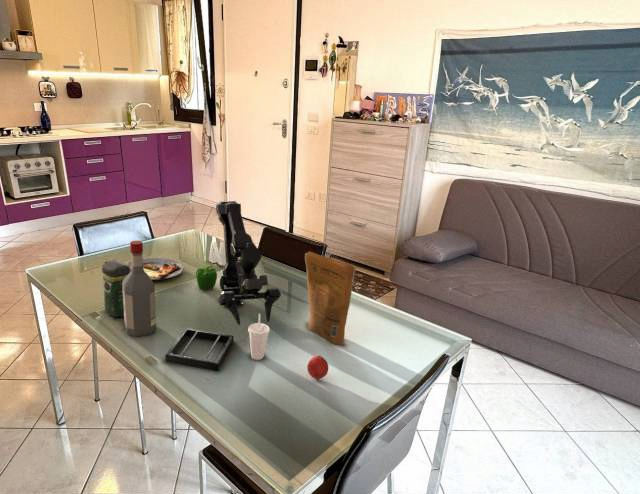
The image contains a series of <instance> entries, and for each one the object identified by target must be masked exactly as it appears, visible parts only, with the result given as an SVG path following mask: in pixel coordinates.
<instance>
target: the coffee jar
mask: <svg viewBox="0 0 640 494" xmlns="http://www.w3.org/2000/svg"><path fill="white" fill-rule="evenodd" d="M129 273H130V268H129V266H128V265H127V263H125V262H123V261H121V260H117V259H110V260H106V261H104V262H103V263H102V265H101V275H102V279H103V281H102V282H103V295H104V299H103V301H104V311H105V312H106V313H107V314H108V315H110V316H111V317H113V318H120V317H123V318H124V305H123V288H122V282H123V280H124V279H125V278H126V276H127V275H128V274H129Z"/></svg>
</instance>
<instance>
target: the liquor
mask: <svg viewBox="0 0 640 494" xmlns="http://www.w3.org/2000/svg"><path fill="white" fill-rule="evenodd" d="M129 242H130V243H129V247H130V249H129V250H130V253H131V261H132V269H131V270H132V271H131V272H130V273H129V274H128V275H127V276H126V278H125V279H124V280H123V282H122V288H123V305H124V316H123V318H124V319H123V320H124V327H125V331H126V334H127V335H128V336H131V337H134V338H135V337H141V336H149V335H151V334H153V333H155V331H156V329H157V319H156V318H157V317H156V316H157V315H156V292H155V291H156V288H155V284H154V282H153V281H154V280H152V279H151V277H150V276H149V275H148V274H147V273H146V272H145V271H144V269H143V259H142V258H143V253H144V244H143V241H141V240H132V241H129Z"/></svg>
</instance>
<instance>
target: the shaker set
mask: <svg viewBox="0 0 640 494" xmlns="http://www.w3.org/2000/svg"><path fill="white" fill-rule="evenodd" d="M208 262H210V263H217V265H219V266H221V267H223V268H225V266H226V254H225V242H223V241H222V242H220V244H219V247H218V244H217V242H216V241H213V240H212V241H211V243H210V248H209V255H208Z"/></svg>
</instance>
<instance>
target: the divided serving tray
mask: <svg viewBox="0 0 640 494" xmlns="http://www.w3.org/2000/svg"><path fill="white" fill-rule="evenodd" d="M187 338H190V340H189V342H188V343H187V344H186V346H185V348H183V350H182V351H181V353H180V354H176V353H177V352H178V351H179V349H180V348H181V346H182V345H183V343H184V342H185V341H186V339H187ZM234 338H235V337H234V335H232V334H225V333H219V332H215V331H214V332H213V331H207V330H199V329H195V328H188V327H186V328H184V330H183V331H182V332H181V333H180V335H179V336H178V337H177V339H176V340H175V341H174V343H173V344H172V345H171V346H170V348H169V349H168V350H167V352H166V353H165V357H164V358H165V363H170V364H175V365H182V366H186V367H192V368H198V369H202V370H203V369H204V370H208V371H215V372H219V371H220V369H221V368H222V366H223V363H224V362H225V360H226V357H227V355H228V354H229V352H230V350H231V348H232V346H233V344H234ZM194 339H200V340H206V341H212V342H214V343H213V344H212V346H211V348H210V349H209V350H208V353H207V355H206V357H204V358H200V357H193V356H188V355H184V354H185V352H186V351H187V350H188V348H189V346H190V345H191V344H192V342H193V341H194ZM218 342H219V343H224V344H225V345H224V347H223V348H222V351H221V352H220V354H219V355H218V358H217V360H211V359H209V357H210V355H211V354H212V352H213V350H214V348H215V347H216V345H217V343H218Z"/></svg>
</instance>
